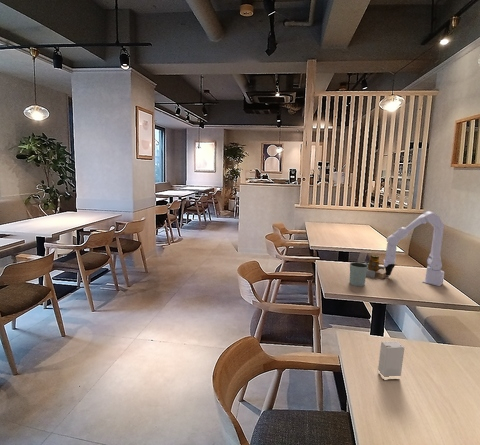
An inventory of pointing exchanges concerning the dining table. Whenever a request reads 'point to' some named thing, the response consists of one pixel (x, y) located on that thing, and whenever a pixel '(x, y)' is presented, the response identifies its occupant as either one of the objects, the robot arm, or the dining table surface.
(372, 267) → the condiment
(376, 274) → the tan rectangular block
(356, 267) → the green tapered cup
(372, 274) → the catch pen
